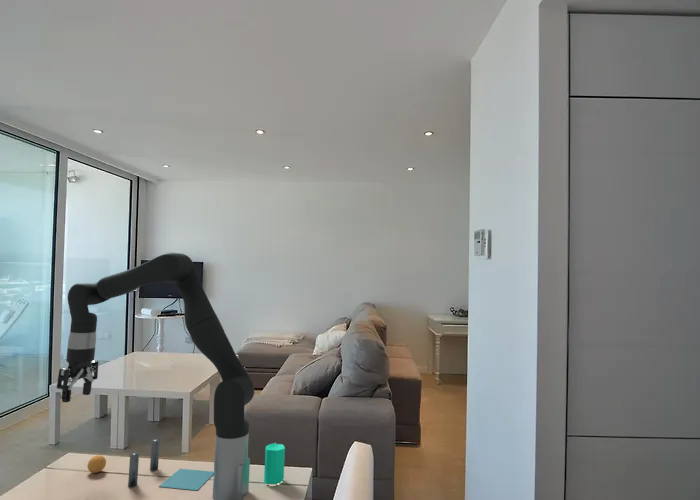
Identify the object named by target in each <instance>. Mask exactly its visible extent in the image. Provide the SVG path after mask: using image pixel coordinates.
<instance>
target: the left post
mask: <svg viewBox="0 0 700 500" xmlns="http://www.w3.org/2000/svg"><path fill="white" fill-rule="evenodd" d="M139 461H140V452H139V451H135V452H131V453H130V454H129V467H128V481H127V482H128V483H127V486H128V488H135V487H136V486H138V478H139V477H138V475H139Z"/></svg>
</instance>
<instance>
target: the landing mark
mask: <svg viewBox="0 0 700 500" xmlns="http://www.w3.org/2000/svg"><path fill="white" fill-rule="evenodd" d="M213 476H214V471H209V470H198V469H190V468H189V469H188V468H178V470H176V471H175V472H174V473H173V474H172V475H171V476H169V477H168V478H167V479H165V480H164V481H163V482H162V483H161V484H160V485H158V488H167V489H177V490H184V491H185V490H186V491H194V492H195V491H197V492H198V491H199V490H200V489H201V488H202V487H203V486H204V485H205V484H206V483H207V482H208V481H209V480H210V479H211V478H212V477H213Z"/></svg>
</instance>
